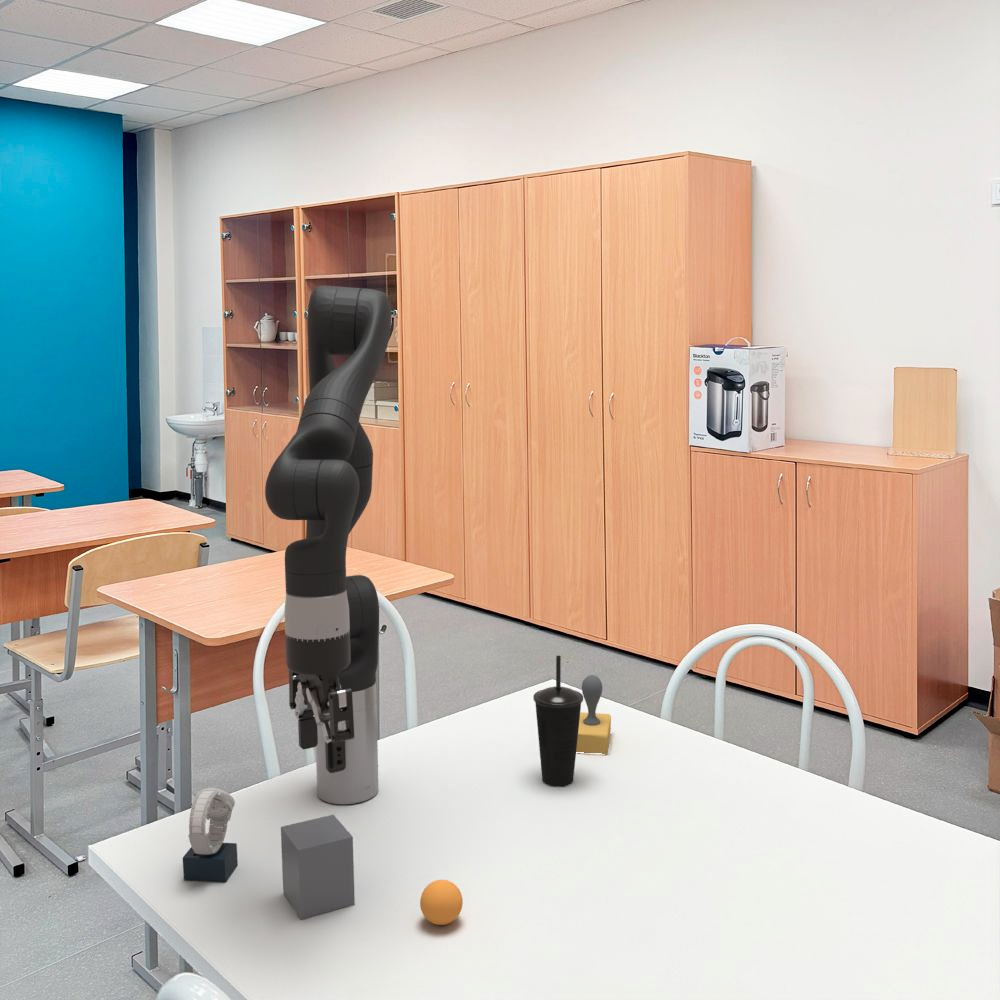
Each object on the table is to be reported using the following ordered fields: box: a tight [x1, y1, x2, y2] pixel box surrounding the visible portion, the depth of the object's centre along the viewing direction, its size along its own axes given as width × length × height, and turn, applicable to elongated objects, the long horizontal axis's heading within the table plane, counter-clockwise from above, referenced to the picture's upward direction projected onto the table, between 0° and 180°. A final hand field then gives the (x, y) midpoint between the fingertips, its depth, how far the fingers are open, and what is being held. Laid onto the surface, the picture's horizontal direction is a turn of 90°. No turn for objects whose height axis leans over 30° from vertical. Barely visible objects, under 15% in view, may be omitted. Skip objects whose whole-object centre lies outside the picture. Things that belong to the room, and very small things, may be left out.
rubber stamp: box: [576, 674, 612, 755], centre depth 176 cm, size 10×6×12 cm, turn 171°
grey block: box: [280, 814, 356, 920], centre depth 128 cm, size 7×7×9 cm
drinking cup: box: [533, 655, 584, 787], centre depth 161 cm, size 8×8×20 cm
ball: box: [419, 879, 464, 926], centre depth 123 cm, size 5×5×5 cm
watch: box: [182, 787, 239, 883], centre depth 134 cm, size 6×8×11 cm
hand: (321, 758), depth 126 cm, fingers open, 8 cm apart
